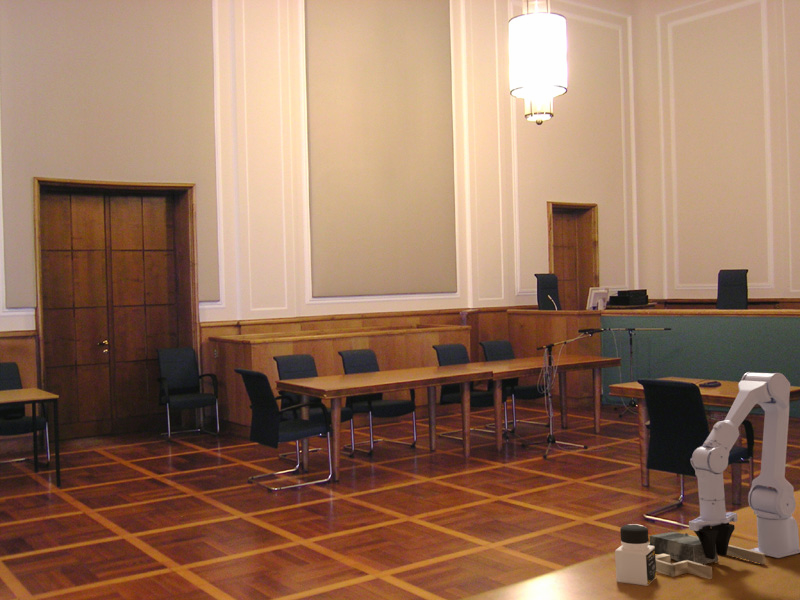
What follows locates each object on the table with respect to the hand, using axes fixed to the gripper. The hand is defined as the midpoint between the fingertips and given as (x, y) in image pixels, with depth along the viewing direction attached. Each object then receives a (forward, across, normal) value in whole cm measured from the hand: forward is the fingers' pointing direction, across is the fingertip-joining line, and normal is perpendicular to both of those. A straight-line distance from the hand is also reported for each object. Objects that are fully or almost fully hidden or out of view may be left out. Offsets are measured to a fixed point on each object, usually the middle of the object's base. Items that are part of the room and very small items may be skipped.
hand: (716, 556), depth 193 cm
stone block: (+2, -1, +8) cm, 9 cm away
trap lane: (+2, -3, +5) cm, 6 cm away
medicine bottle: (+2, -23, +3) cm, 23 cm away
